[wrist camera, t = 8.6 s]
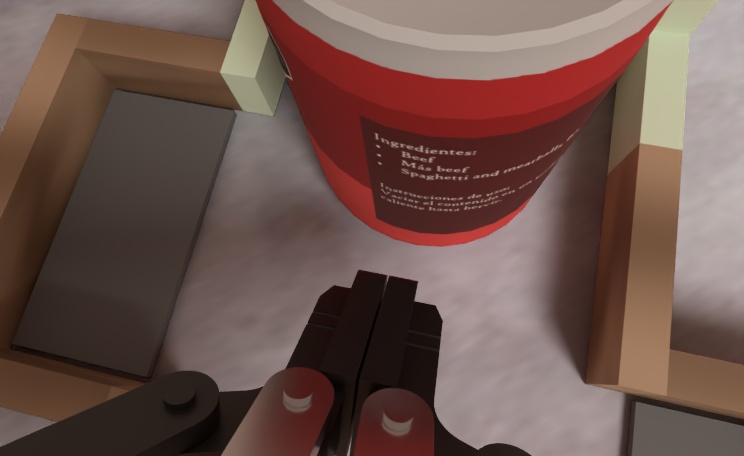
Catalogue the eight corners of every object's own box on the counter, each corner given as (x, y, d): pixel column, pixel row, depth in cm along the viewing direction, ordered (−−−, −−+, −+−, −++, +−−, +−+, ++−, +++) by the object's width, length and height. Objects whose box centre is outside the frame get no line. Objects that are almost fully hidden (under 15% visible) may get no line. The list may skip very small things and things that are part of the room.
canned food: (404, 17, 20) (405, -397, 9) (584, 129, 18) (842, -225, 7) (275, 163, 18) (100, -127, 8) (457, 299, 16) (552, 164, 6)
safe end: (643, 181, 17) (712, 125, 13) (242, 110, 19) (202, 43, 15) (655, 44, 19) (720, -42, 15) (282, -10, 20) (254, -100, 16)
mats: (803, 857, 12) (813, 868, 12) (-77, 579, 15) (-86, 583, 15) (801, 215, 17) (808, 212, 16) (118, 93, 19) (114, 89, 19)
